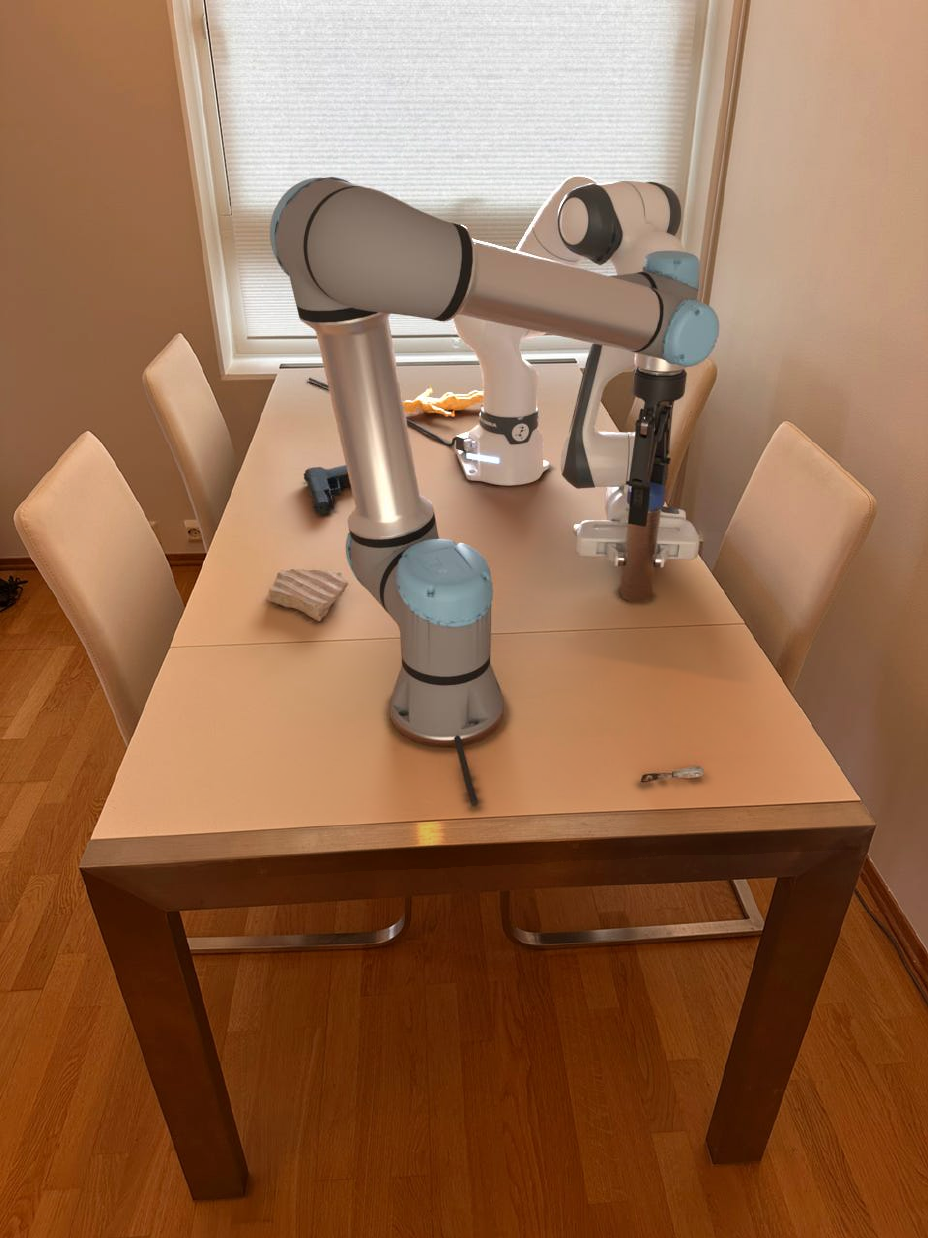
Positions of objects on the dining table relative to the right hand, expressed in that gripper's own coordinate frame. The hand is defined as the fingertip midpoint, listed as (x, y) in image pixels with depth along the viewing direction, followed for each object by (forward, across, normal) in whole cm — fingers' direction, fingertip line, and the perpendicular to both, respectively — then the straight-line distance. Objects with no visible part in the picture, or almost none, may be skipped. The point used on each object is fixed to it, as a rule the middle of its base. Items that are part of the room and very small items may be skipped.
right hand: (639, 563), depth 143 cm
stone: (+5, -54, +6) cm, 54 cm away
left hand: (-1, 0, -8) cm, 8 cm away
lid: (-1, 0, -12) cm, 12 cm away
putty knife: (+44, +1, +6) cm, 45 cm away
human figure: (-90, -39, +6) cm, 99 cm away
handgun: (-36, -57, +6) cm, 68 cm away
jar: (-1, 0, +6) cm, 6 cm away
